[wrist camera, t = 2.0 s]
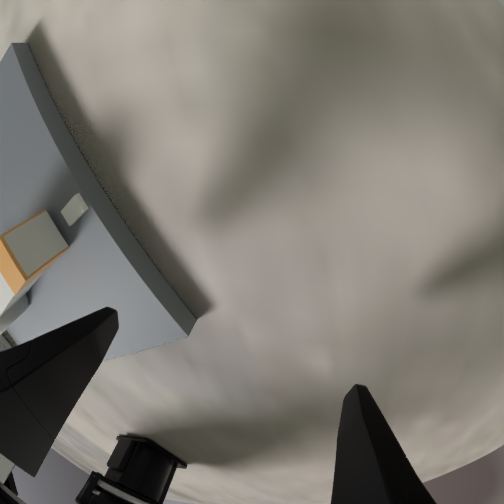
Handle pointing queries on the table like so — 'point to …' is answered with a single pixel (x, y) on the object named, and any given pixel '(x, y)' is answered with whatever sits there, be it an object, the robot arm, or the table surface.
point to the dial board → (74, 225)
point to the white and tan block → (26, 262)
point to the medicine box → (4, 343)
